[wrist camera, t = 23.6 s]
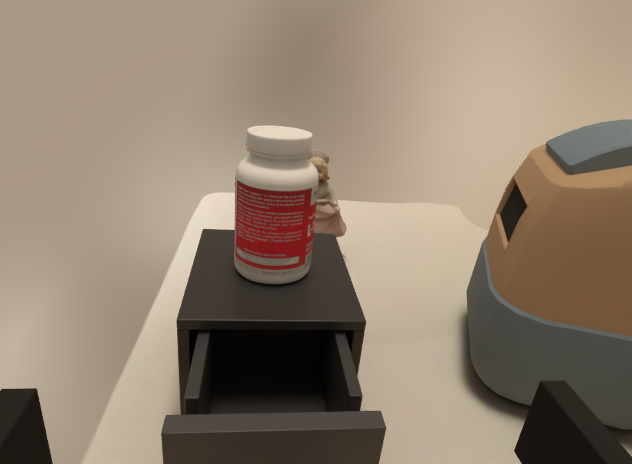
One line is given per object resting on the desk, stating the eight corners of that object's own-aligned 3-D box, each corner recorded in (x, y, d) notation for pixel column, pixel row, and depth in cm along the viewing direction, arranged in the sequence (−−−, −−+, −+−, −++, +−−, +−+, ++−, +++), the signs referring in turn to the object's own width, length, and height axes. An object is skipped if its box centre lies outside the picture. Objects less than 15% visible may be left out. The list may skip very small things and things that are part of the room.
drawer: (384, 609, 23) (411, 506, 20) (150, 628, 21) (139, 521, 18) (333, 368, 39) (343, 291, 36) (198, 369, 37) (196, 288, 34)
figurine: (268, 275, 53) (268, 147, 51) (258, 261, 63) (258, 153, 61) (354, 272, 56) (357, 150, 54) (332, 259, 65) (334, 155, 64)
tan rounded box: (458, 303, 52) (510, 98, 43) (616, 337, 49) (710, 122, 39) (461, 405, 37) (542, 126, 28) (688, 465, 34) (868, 168, 24)
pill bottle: (318, 285, 34) (334, 142, 30) (238, 290, 33) (242, 140, 28) (299, 249, 40) (310, 124, 35) (230, 252, 38) (232, 121, 34)
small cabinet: (349, 424, 34) (366, 321, 31) (181, 429, 33) (176, 319, 29) (325, 315, 48) (334, 233, 44) (204, 313, 46) (202, 228, 42)
